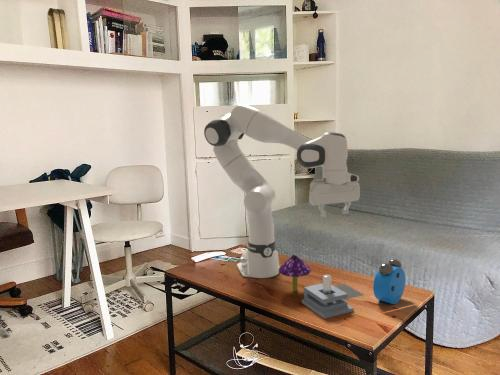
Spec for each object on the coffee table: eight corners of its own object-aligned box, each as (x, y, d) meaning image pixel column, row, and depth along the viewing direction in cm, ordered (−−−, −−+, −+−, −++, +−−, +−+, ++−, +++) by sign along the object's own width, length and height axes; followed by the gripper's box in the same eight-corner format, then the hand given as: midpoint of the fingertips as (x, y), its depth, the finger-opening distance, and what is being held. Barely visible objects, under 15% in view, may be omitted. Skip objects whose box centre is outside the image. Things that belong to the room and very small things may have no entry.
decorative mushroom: (288, 301, 147) (287, 261, 145) (273, 289, 159) (272, 252, 156) (317, 295, 151) (317, 256, 149) (301, 283, 163) (301, 248, 161)
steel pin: (325, 305, 139) (325, 278, 137) (320, 302, 141) (320, 275, 140) (332, 304, 140) (333, 276, 139) (327, 301, 143) (328, 274, 141)
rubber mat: (319, 290, 156) (319, 289, 156) (344, 284, 161) (344, 283, 161) (337, 302, 145) (337, 301, 145) (364, 295, 150) (364, 294, 150)
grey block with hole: (301, 303, 145) (301, 287, 144) (329, 297, 149) (329, 281, 149) (323, 319, 132) (323, 302, 131) (353, 312, 137) (353, 295, 136)
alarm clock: (389, 293, 151) (390, 255, 149) (405, 298, 146) (406, 258, 144) (372, 305, 142) (373, 264, 140) (389, 310, 137) (389, 268, 135)
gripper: (315, 180, 138) (315, 219, 140) (362, 176, 146) (362, 213, 148) (305, 178, 144) (305, 216, 146) (352, 174, 152) (351, 210, 154)
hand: (334, 214), depth 147 cm, fingers open, 8 cm apart
